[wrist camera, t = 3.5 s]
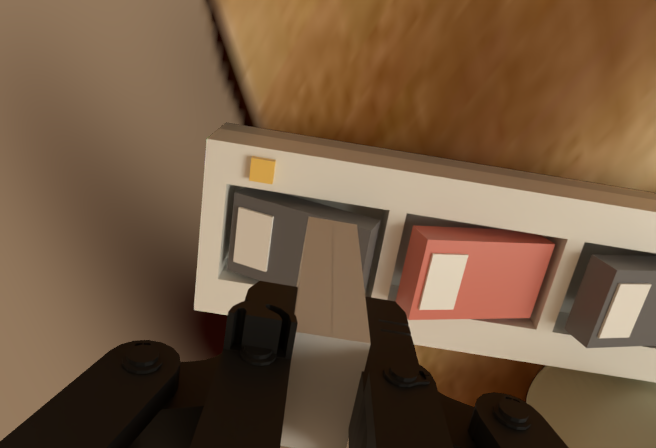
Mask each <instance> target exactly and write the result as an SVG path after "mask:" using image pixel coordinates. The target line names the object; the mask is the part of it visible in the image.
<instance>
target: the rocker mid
mask: <svg viewBox="0 0 656 448" xmlns="http://www.w3.org/2000/svg"><path fill="white" fill-rule="evenodd" d="M554 246H555V244H554V243H553V242H551V241H549V240H548V239H546V238H545V237H543V236H542V235H538V234H532V233H526V232H520V231H514V230H507V229H484V228H461V227H438V226H415V225H413V228H412V232H411V236H410V241H409V245H408V249H407V254H406V258H405V262H404V266H403V271H402V275H401V279H400V284H399V288H398V292H397V297H396V301H395V302H396V303H397V304H398V305H399V306H400V307H401V308H402V309H403V310H404V311H405V312H406V316H407V319H408V320H440V319H500V318H530V317H531V314H532V311H533V308H534V305H535V302H536V299H537V296H538V293H539V290H540V287H541V284H542V281H543V279H544V276H545V273H546V270H547V267H548V264H549V261H550V258H551V255H552V252H553V249H554Z"/></svg>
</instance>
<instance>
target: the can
mask: <svg viewBox="0 0 656 448" xmlns="http://www.w3.org/2000/svg"><path fill="white" fill-rule="evenodd" d="M526 403H527V404H529V405H531V406H532V407H533V408H534V409H535V410H536V411H538V412H539V413H540V414H541V415H542V416H543V417H544V419H545V420H546V421H547V422H548V423H549V425H550V426H551V427H552V428H553V429H554V431H555V432H556V433H557V434H558V435H559V437H560V438H561V439H562V440H563V441H564V443H565V444H566V445H567V446H568V447H569V448H656V382H649V381H643V380H636V379H630V378H624V377H617V376H611V375H605V374H598V373H592V372H586V371H579V370H573V369H567V368H560V367H554V366H547V365H546V366H545V367H544V368H543V369H542V370H541V371H540V372H539V373H538V374H537V376H536V377H535V379H534V380H533V382H532V384H531V386H530V388H529V391H528V394H527V399H526Z"/></svg>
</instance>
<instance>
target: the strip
mask: <svg viewBox="0 0 656 448" xmlns="http://www.w3.org/2000/svg"><path fill="white" fill-rule="evenodd" d="M245 187H248V188H255V189H261V190H267V191H273V192H279V193H283V194H287V195H290V196H294V197H298V198H301V199H305V200H309V201H312V202H316V203H320V204H323V205H327V206H331V207H334V208H338V209H342V210H345V211H349V212H353V213H356V214H360V215H364V216H367V217H371V218H374V219H378V220H380V225H379V230H378V235H377V240H376V244H375V249H374V254H373V259H372V264H371V269H370V273H369V278H368V283H367V288H366V293H365V297H372V298H378V299H384V300H390V301H396V297H397V292H398V288H399V284H400V279H401V275H402V271H403V266H404V262H405V258H406V254H407V249H408V245H409V241H410V236H411V232H412V228H413V225H415V226H438V227H461V228H484V229H507V230H514V231H520V232H526V233H532V234H538V235H542V236H543V237H545V238H546V239H548V240H549V241H551V242H553V243H554V244H555V246H554V249H553V252H552V255H551V258H550V261H549V264H548V267H547V270H546V273H545V276H544V279H543V281H542V284H541V287H540V290H539V293H538V296H537V299H536V302H535V305H534V308H533V311H532V314H531V317H530V318H500V319H440V320H408V319H407V320H408V324H409V325H408V326H409V328H410V332H411V336H412V340H413V344H414V345H420V346H427V347H433V348H439V349H446V350H452V351H458V352H465V353H471V354H478V355H484V356H490V357H497V358H503V359H509V360H516V361H522V362H528V363H535V364H541V365H547V366H554V367H560V368H567V369H573V370H579V371H586V372H592V373H598V374H605V375H611V376H617V377H624V378H630V379H636V380H643V381H649V382H656V346H630V347H605V348H586V347H585V346H583V345H582V344H581V343H580V342H579V341H578V340H576V339H575V338H574V337H573V336H572V335H571V334H569V333H568V332H567V331H566V330H565V329H564V327H565V325H566V322H567V319H568V317H569V314H570V311H571V309H572V306H573V303H574V300H575V298H576V295H577V292H578V290H579V287H580V284H581V282H582V279H583V276H584V274H585V271H586V268H587V265H588V263H589V260H590V257H591V255H592V254H600V255H635V256H656V193H652V192H646V191H640V190H634V189H628V188H622V187H616V186H610V185H604V184H598V183H591V182H585V181H579V180H573V179H567V178H561V177H555V176H549V175H543V174H537V173H531V172H524V171H518V170H512V169H506V168H500V167H494V166H488V165H482V164H476V163H470V162H464V161H457V160H451V159H445V158H439V157H433V156H427V155H421V154H415V153H409V152H403V151H397V150H390V149H384V148H378V147H372V146H366V145H360V144H354V143H348V142H342V141H336V140H330V139H323V138H317V137H311V136H305V135H299V134H293V133H287V132H281V131H275V130H269V129H263V128H256V127H250V126H244V125H238V124H232V123H225V124H224V125H223V126H221V127H220V128H219V129H218V130H217V131H215V132H214V133H213V134H212V135H210V136H209V137H208V138H207V140H206V154H205V167H204V180H203V193H202V194H203V195H202V207H201V220H200V234H199V247H198V262H197V274H196V287H195V301H194V310H198V311H205V312H211V313H217V314H223V315H228V311H229V310H230V309H231V308H232V307H233V306H234V305H236V304H238V303H240V302H243V301H245V297H246V294H247V291H248V289H249V288H250V287H251V286H253V285H254V284H256V283H257V282H258V281H260V280H257V279H254V278H250V277H247V276H244V275H241V274H238V273H235V272H232V271H229V270H227V265H228V255H229V244H230V234H231V224H232V214H233V203H234V193H235V192H236V191H239V190H241V189H243V188H245Z"/></svg>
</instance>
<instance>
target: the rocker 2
mask: <svg viewBox="0 0 656 448" xmlns="http://www.w3.org/2000/svg"><path fill="white" fill-rule="evenodd" d="M564 329H565V330H566V331H567V332H568V333H569V334H571V335H572V336H573V337H574V338H575V339H576V340H578V341H579V342H580V343H581V344H582V345H583V346H585V347H586V348H605V347H630V346H656V256H635V255H600V254H592V255H591V257H590V260H589V263H588V265H587V268H586V271H585V274H584V276H583V279H582V282H581V284H580V287H579V290H578V292H577V295H576V298H575V300H574V303H573V306H572V309H571V311H570V314H569V317H568V319H567V322H566V325H565V327H564Z"/></svg>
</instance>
